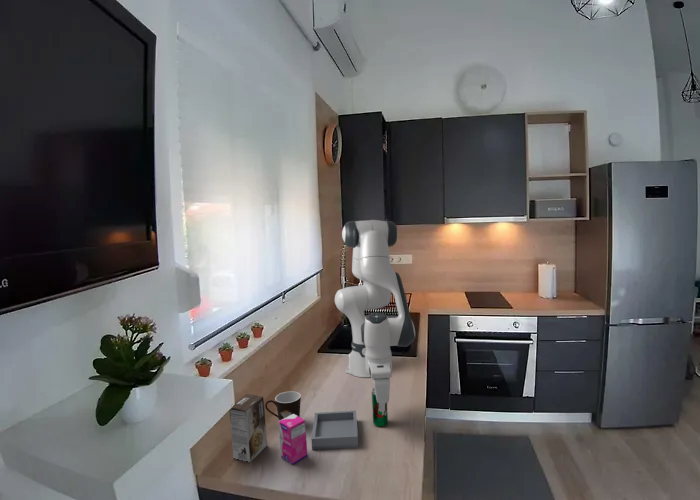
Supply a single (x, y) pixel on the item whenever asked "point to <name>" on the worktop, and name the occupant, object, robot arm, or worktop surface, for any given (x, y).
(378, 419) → the soda can
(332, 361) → the worktop surface
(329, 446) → the tray
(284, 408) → the coffee mug
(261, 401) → the coffee box
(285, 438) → the supplement box
